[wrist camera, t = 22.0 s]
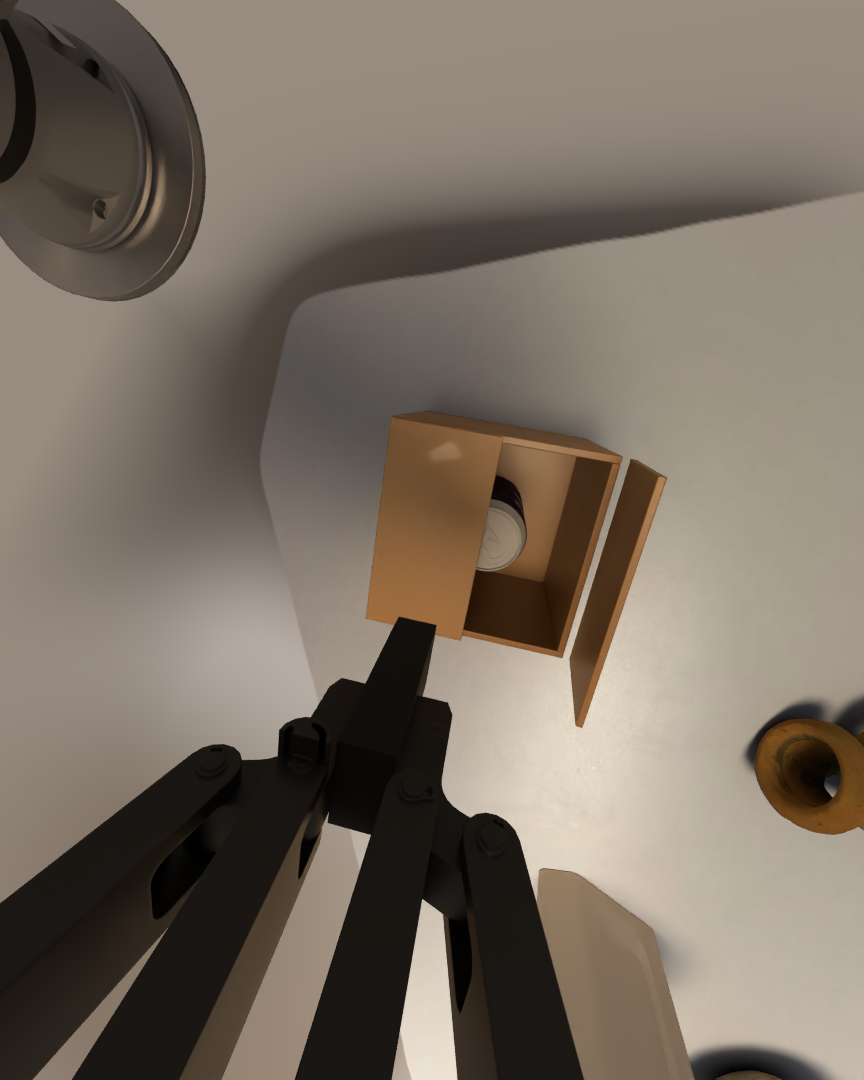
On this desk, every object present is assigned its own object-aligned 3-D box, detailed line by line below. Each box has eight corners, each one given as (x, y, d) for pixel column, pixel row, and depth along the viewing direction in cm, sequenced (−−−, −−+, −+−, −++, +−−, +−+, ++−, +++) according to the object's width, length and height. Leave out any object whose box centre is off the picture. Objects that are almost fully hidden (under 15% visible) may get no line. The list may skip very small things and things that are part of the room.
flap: (367, 616, 34) (365, 618, 33) (392, 416, 29) (390, 416, 28) (461, 638, 33) (460, 641, 32) (503, 436, 28) (503, 437, 28)
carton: (405, 556, 47) (332, 668, 27) (426, 410, 42) (358, 420, 22) (555, 587, 45) (593, 731, 26) (595, 440, 40) (681, 479, 21)
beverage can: (487, 541, 44) (480, 590, 33) (451, 498, 44) (432, 532, 32) (533, 508, 43) (543, 547, 31) (497, 462, 42) (494, 485, 30)
